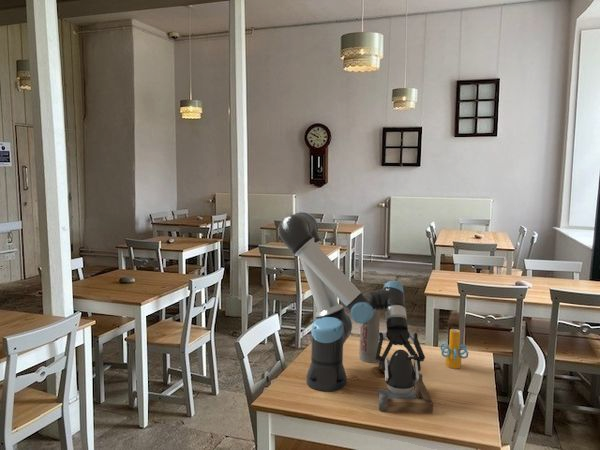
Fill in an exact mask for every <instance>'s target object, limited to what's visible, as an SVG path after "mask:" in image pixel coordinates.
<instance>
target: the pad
mask: <svg viewBox="0 0 600 450" xmlns="http://www.w3.org/2000/svg"><path fill="white" fill-rule="evenodd" d="M377 392H378V395H379V394H382V393H384V394H387V395H388V398H396V399H418V396H417V393H416V391H415V390H412V391H411V392H410V393H409V394H407V395H396V394H394V393H392V392H391V391H390V390H389V389H377Z"/></svg>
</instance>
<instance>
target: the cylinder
mask: <svg viewBox="0 0 600 450" xmlns="http://www.w3.org/2000/svg"><path fill="white" fill-rule="evenodd" d="M460 341H461V330H460V329H455V328H451V329H449V341H448V342H449V343H446V342H443V343H441V344H440V351H441V356H442V357H444V358H445V367H447V368H449V369H455V370H457V369H461V367H462V359H467V358H468V357H469V351H468V350H467V346H466V345H465V344H460ZM443 346H444V347H443ZM445 350H446V351H445ZM461 351H462V352H461ZM463 355H465V356H463Z"/></svg>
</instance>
